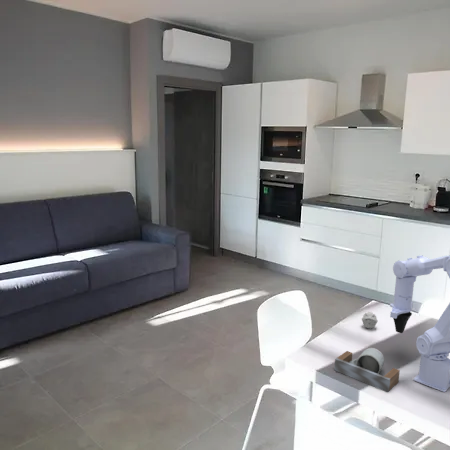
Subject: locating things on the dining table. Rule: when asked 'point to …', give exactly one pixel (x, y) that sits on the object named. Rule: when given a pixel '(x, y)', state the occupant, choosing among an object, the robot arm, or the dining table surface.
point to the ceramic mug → (370, 360)
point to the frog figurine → (369, 320)
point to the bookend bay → (366, 373)
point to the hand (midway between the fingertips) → (399, 331)
